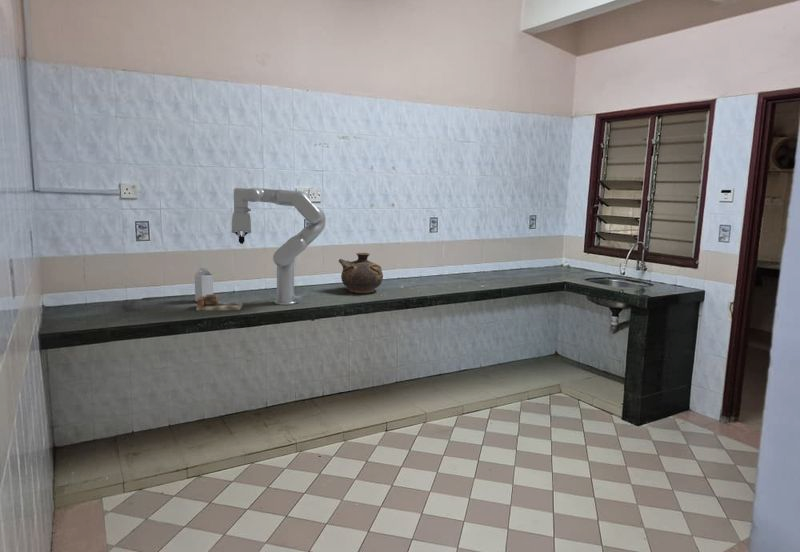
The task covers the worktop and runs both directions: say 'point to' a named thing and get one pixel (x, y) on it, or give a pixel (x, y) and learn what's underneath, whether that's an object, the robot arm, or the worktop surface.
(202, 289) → the milk carton
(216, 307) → the rail board
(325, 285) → the worktop surface
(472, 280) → the worktop surface
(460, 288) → the worktop surface
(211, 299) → the keeper
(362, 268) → the vessel
